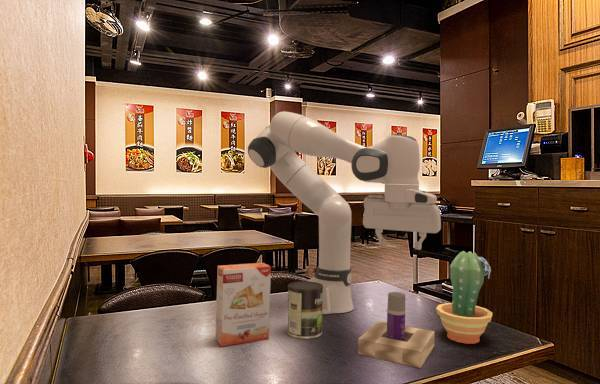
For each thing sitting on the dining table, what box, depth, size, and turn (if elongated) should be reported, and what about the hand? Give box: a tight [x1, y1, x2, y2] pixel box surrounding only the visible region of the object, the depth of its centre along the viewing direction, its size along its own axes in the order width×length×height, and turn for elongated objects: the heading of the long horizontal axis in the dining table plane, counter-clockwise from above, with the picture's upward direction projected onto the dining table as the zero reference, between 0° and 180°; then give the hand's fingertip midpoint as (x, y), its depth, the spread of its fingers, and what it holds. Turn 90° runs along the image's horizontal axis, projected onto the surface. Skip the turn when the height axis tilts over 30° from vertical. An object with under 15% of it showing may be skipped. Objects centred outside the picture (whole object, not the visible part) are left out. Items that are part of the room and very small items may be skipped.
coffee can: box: [287, 280, 323, 340], centre depth 122 cm, size 10×10×14 cm
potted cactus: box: [435, 250, 493, 345], centre depth 120 cm, size 15×15×25 cm
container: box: [386, 291, 406, 341], centre depth 110 cm, size 5×5×15 cm
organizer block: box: [357, 320, 436, 369], centre depth 110 cm, size 16×16×4 cm
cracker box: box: [215, 262, 272, 347], centre depth 115 cm, size 14×6×21 cm, turn 117°
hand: (399, 247), depth 110 cm, fingers open, 8 cm apart
